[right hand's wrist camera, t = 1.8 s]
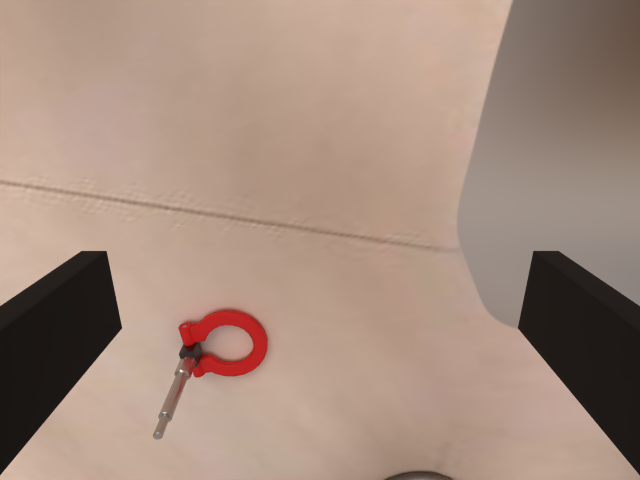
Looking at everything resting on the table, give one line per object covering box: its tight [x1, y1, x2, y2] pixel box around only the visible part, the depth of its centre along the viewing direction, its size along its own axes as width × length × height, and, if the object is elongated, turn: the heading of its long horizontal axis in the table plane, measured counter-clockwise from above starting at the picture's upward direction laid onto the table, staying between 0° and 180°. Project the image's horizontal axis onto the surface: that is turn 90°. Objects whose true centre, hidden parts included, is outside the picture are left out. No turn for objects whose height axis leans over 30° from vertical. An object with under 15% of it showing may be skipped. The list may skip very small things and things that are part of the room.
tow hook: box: [153, 310, 267, 439], centre depth 40 cm, size 8×13×9 cm
